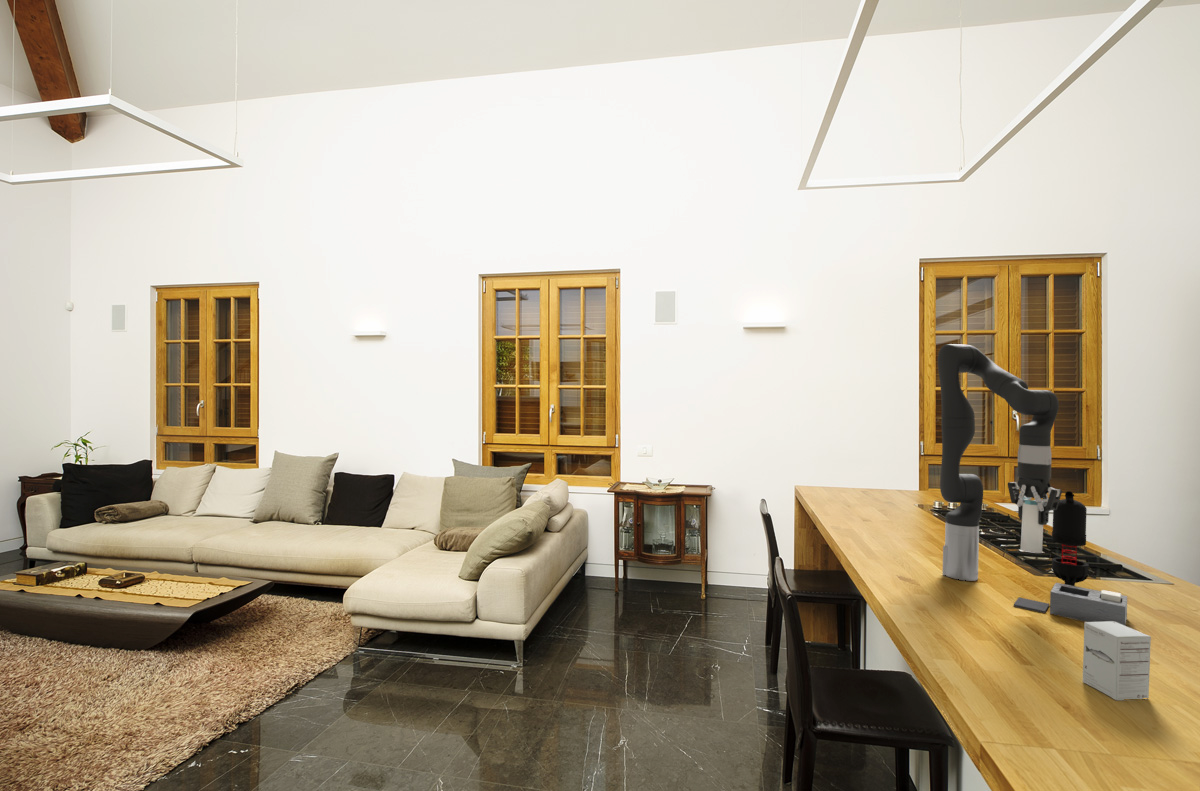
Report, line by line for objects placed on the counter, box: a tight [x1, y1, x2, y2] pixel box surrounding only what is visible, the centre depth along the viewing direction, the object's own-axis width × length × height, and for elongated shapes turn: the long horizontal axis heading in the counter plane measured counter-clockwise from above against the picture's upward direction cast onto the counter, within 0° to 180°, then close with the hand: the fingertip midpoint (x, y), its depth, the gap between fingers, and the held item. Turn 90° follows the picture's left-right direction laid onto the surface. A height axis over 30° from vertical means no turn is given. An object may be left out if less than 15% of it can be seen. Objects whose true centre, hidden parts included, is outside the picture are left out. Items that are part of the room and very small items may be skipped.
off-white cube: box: [1100, 589, 1122, 602], centre depth 152 cm, size 4×4×5 cm
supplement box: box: [1082, 621, 1152, 701], centre depth 116 cm, size 7×7×13 cm
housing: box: [1049, 582, 1128, 626], centre depth 155 cm, size 15×11×6 cm
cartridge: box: [1020, 499, 1044, 554], centre depth 162 cm, size 5×5×14 cm
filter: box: [1051, 490, 1090, 586], centre depth 181 cm, size 14×9×30 cm
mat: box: [1013, 597, 1050, 614], centre depth 162 cm, size 7×8×1 cm
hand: (1033, 522), depth 162 cm, fingers closed on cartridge, 4 cm apart
